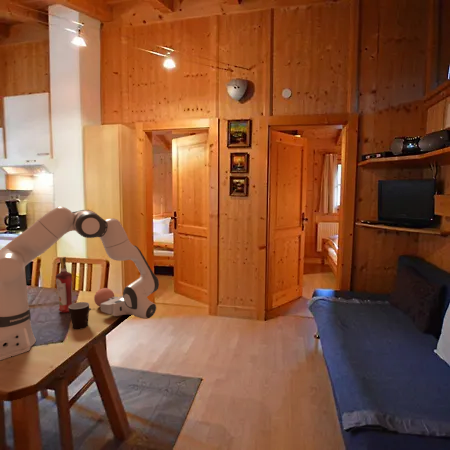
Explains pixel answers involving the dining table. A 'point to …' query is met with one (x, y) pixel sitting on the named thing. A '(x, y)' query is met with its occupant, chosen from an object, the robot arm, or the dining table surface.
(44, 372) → the dining table surface
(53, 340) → the dining table surface
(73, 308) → the coffee mug
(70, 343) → the dining table surface
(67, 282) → the liquor
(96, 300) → the ball
